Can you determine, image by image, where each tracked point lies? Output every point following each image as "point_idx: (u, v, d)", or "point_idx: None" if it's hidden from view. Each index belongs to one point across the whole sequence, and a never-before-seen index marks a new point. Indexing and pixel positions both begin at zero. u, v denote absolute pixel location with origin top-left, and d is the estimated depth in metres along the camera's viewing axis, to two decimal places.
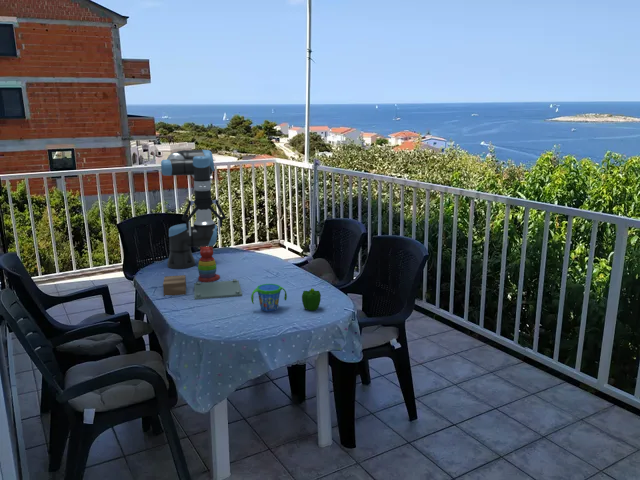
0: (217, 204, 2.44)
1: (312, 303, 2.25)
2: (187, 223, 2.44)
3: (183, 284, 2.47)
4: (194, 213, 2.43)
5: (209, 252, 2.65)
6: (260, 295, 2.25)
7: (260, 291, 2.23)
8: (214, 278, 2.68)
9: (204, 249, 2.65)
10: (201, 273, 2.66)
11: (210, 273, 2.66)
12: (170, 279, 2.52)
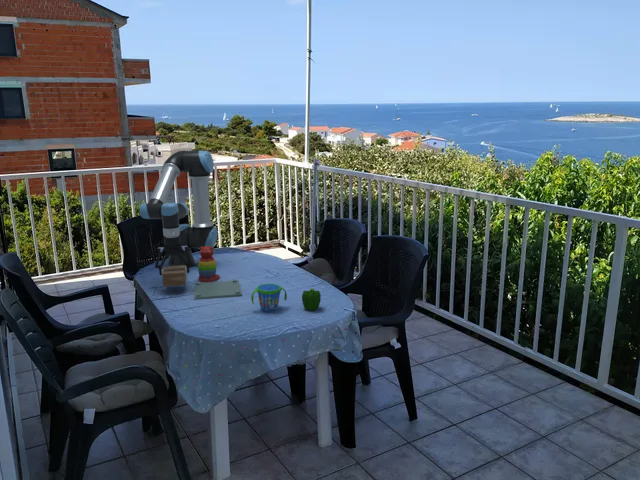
0: (186, 250, 2.49)
1: (312, 303, 2.25)
2: (160, 270, 2.49)
3: (182, 274, 2.46)
4: (165, 259, 2.48)
5: (209, 252, 2.65)
6: (260, 295, 2.25)
7: (260, 291, 2.23)
8: (214, 278, 2.68)
9: (204, 249, 2.65)
10: (201, 273, 2.66)
11: (210, 273, 2.66)
12: (170, 269, 2.51)
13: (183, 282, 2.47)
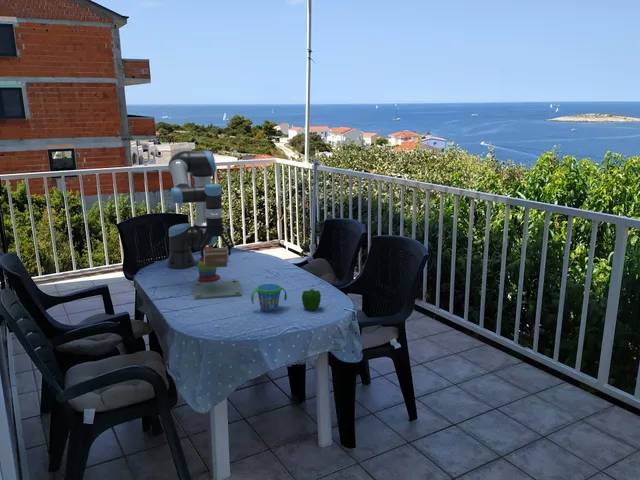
0: (228, 232, 2.48)
1: (312, 303, 2.25)
2: (202, 252, 2.47)
3: (224, 255, 2.44)
4: (207, 241, 2.46)
5: None
6: (260, 295, 2.25)
7: (260, 291, 2.23)
8: (214, 278, 2.68)
9: None
10: (201, 273, 2.66)
11: (210, 273, 2.66)
12: (212, 251, 2.49)
13: (225, 263, 2.45)
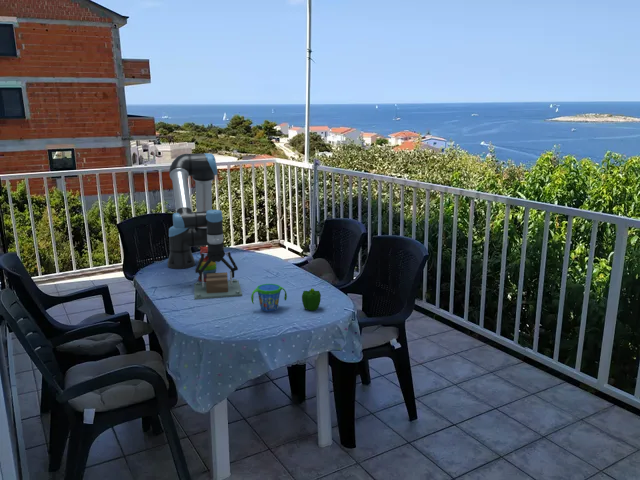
0: (229, 256, 2.50)
1: (312, 303, 2.25)
2: (200, 275, 2.50)
3: (226, 281, 2.47)
4: (207, 265, 2.49)
5: None
6: (260, 295, 2.25)
7: (260, 291, 2.23)
8: None
9: (204, 249, 2.65)
10: None
11: None
12: (213, 276, 2.52)
13: (226, 289, 2.48)
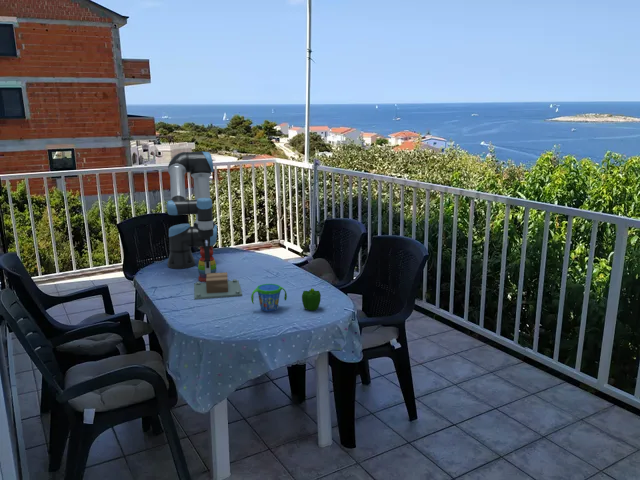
0: (204, 246, 2.60)
1: (312, 303, 2.25)
2: None
3: (226, 281, 2.47)
4: None
5: None
6: (260, 295, 2.25)
7: (260, 291, 2.23)
8: None
9: None
10: (201, 273, 2.66)
11: None
12: (213, 276, 2.52)
13: (226, 289, 2.48)
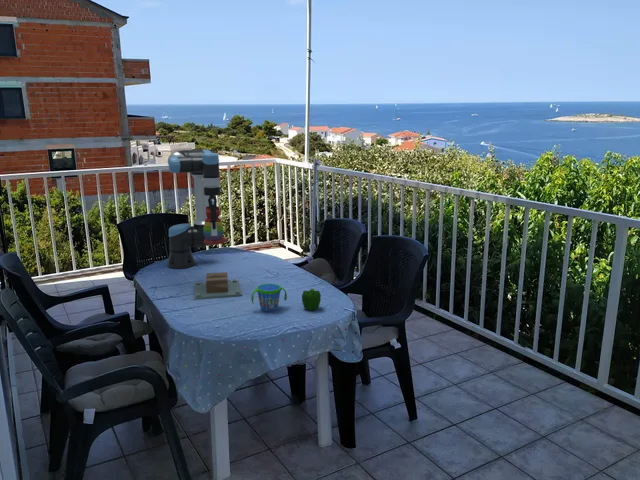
0: (210, 204, 2.40)
1: (312, 303, 2.25)
2: None
3: (226, 281, 2.47)
4: None
5: None
6: (260, 295, 2.25)
7: (260, 291, 2.23)
8: (221, 241, 2.48)
9: None
10: (207, 235, 2.45)
11: (217, 235, 2.46)
12: (213, 276, 2.52)
13: (226, 289, 2.48)
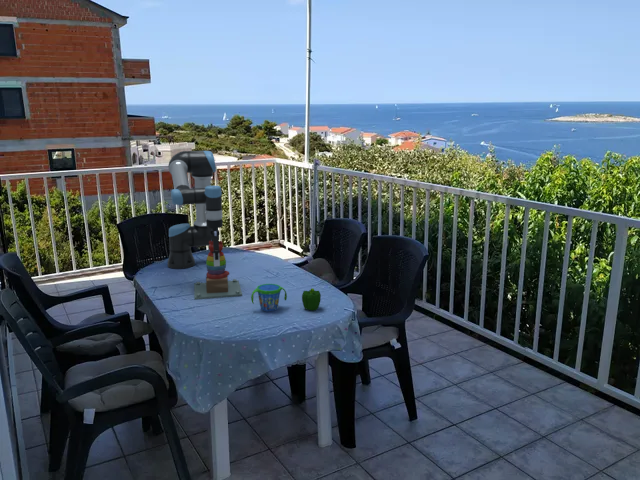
0: (212, 236, 2.41)
1: (312, 303, 2.25)
2: None
3: (226, 281, 2.47)
4: (212, 239, 2.52)
5: None
6: (260, 295, 2.25)
7: (260, 291, 2.23)
8: (223, 275, 2.50)
9: None
10: (210, 269, 2.48)
11: (220, 269, 2.48)
12: None
13: (226, 289, 2.48)
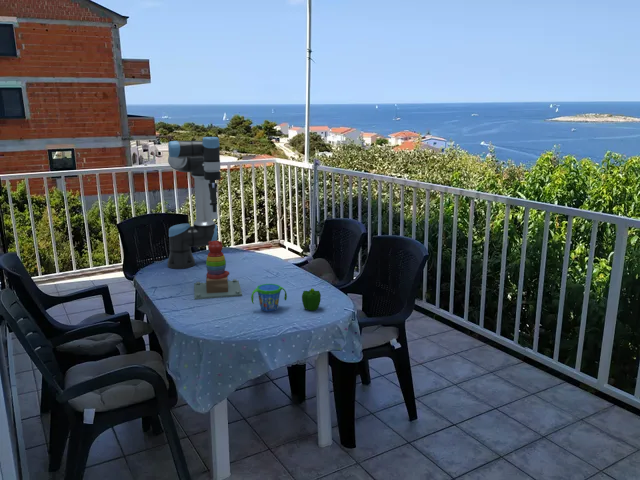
0: (210, 187, 2.36)
1: (312, 303, 2.25)
2: None
3: (226, 281, 2.47)
4: (210, 193, 2.47)
5: (218, 247, 2.47)
6: (260, 295, 2.25)
7: (260, 291, 2.23)
8: (223, 275, 2.50)
9: (213, 243, 2.46)
10: (209, 269, 2.48)
11: (220, 269, 2.48)
12: None
13: (226, 289, 2.48)
